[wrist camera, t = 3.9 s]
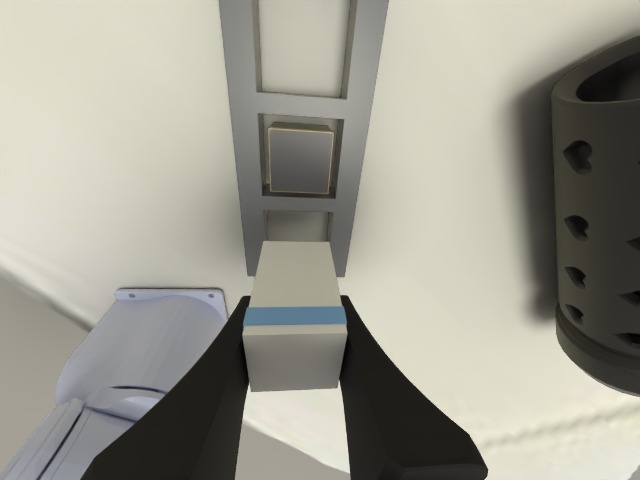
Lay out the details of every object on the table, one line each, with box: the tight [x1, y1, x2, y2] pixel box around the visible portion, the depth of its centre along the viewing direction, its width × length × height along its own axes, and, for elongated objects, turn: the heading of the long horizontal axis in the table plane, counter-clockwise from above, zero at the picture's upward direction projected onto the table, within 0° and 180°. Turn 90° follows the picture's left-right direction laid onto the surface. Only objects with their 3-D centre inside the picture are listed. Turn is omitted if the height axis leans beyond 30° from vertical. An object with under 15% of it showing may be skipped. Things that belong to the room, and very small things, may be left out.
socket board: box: [219, 0, 389, 277], centre depth 16 cm, size 8×19×3 cm, turn 176°
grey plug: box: [242, 241, 347, 392], centre depth 12 cm, size 4×4×6 cm
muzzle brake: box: [551, 36, 640, 397], centre depth 18 cm, size 10×28×10 cm, turn 30°
